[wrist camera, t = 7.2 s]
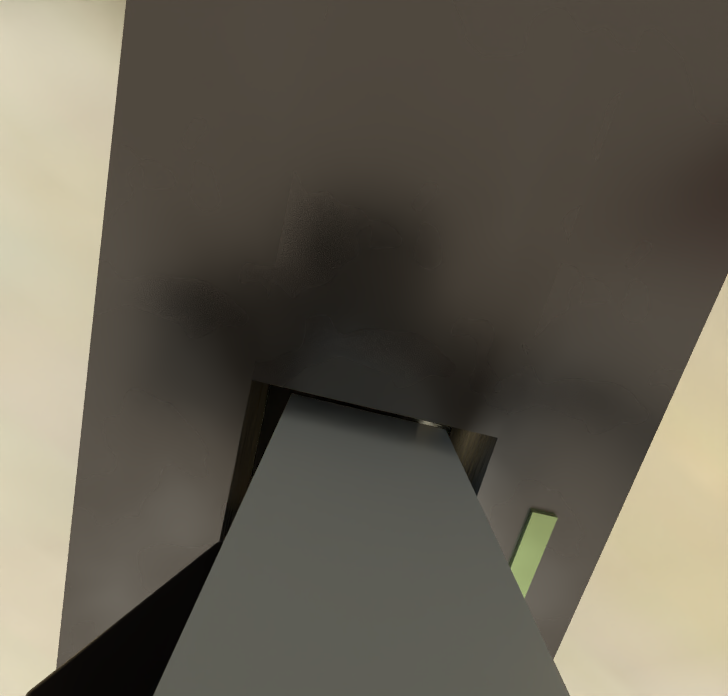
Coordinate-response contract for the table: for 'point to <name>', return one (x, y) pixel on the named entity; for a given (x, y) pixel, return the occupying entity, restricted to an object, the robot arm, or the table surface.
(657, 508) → the table surface
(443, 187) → the jack panel
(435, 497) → the plug
